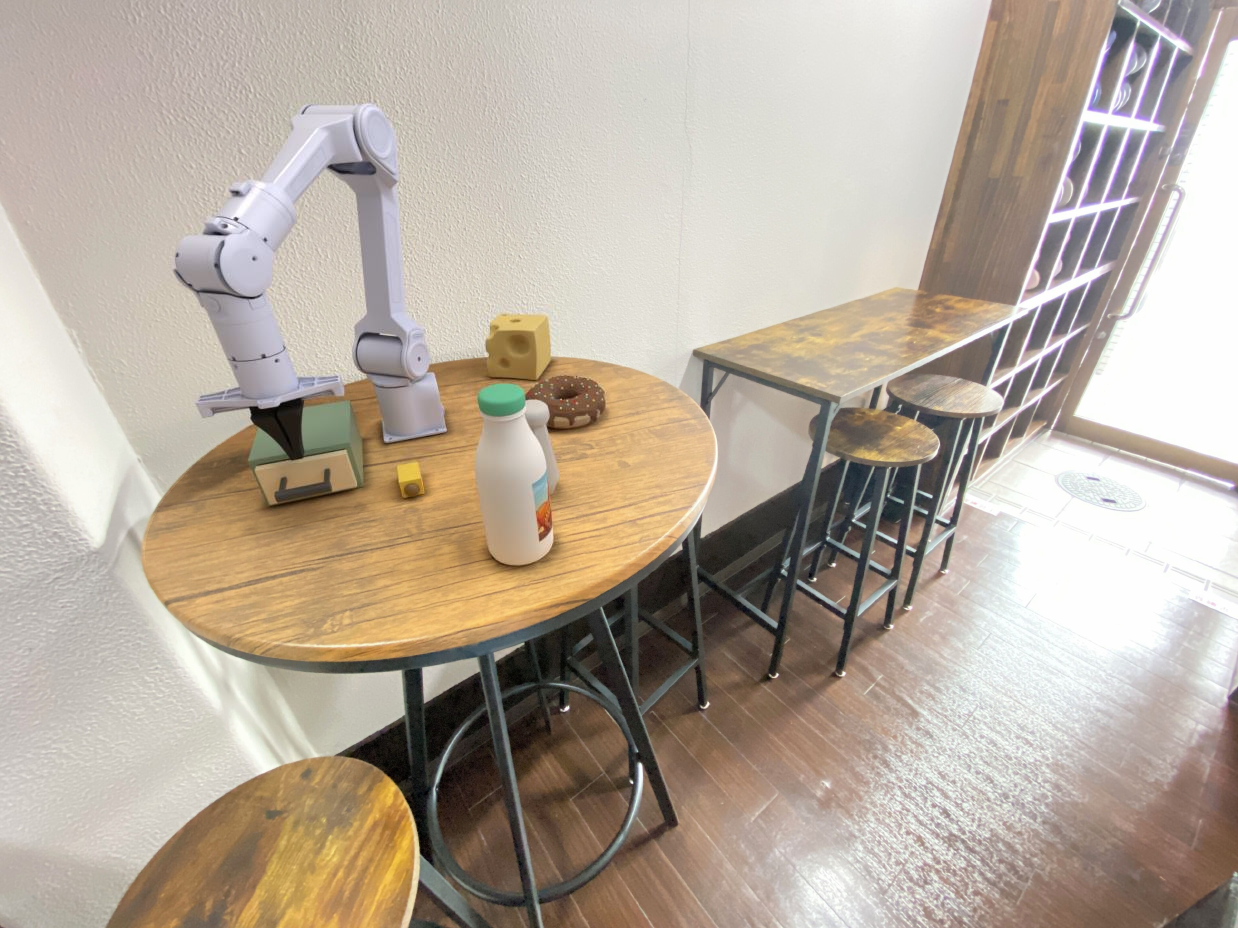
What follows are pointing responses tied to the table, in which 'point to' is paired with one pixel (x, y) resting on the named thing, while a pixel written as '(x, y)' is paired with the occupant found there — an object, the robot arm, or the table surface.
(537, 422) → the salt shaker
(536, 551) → the milk bottle
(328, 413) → the cabinet
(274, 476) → the drawer
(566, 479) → the table surface
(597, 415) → the donut
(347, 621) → the table surface
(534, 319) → the cheese
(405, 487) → the yellow knobbed cube
